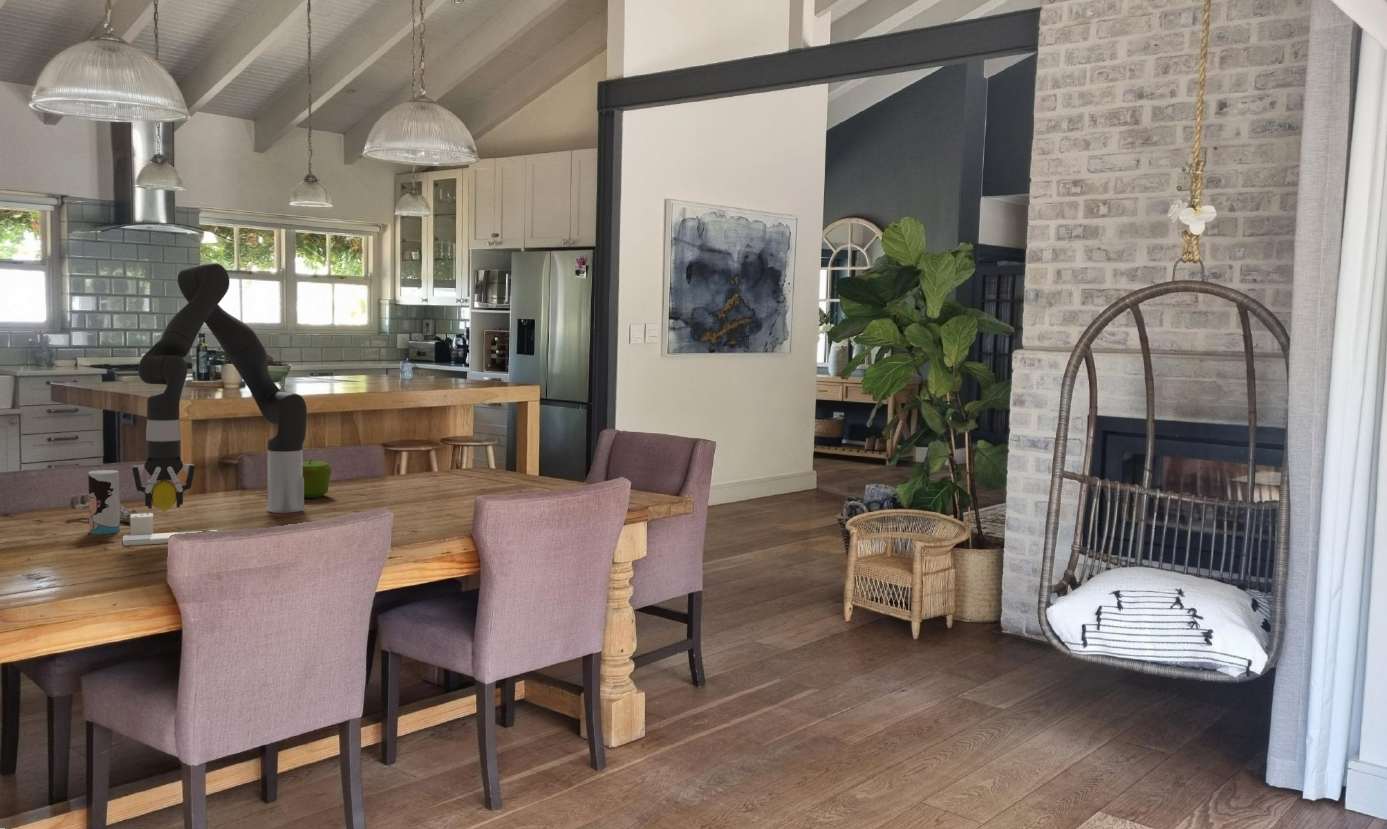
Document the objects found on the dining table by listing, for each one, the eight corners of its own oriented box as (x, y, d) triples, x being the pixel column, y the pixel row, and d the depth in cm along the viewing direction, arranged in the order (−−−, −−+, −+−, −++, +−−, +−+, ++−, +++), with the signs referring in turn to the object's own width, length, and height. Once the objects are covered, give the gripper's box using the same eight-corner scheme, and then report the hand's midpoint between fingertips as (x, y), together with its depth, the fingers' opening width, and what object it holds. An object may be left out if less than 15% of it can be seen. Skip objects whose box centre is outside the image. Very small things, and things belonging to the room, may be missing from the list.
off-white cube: (153, 532, 283) (153, 512, 283) (153, 536, 279) (153, 515, 278) (130, 533, 281) (130, 513, 281) (129, 537, 276) (129, 516, 276)
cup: (106, 527, 287) (105, 469, 285) (125, 530, 284) (125, 471, 283) (83, 532, 280) (81, 472, 279) (103, 535, 278) (102, 474, 277)
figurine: (86, 491, 302) (147, 505, 296) (85, 512, 302) (146, 526, 297) (67, 494, 296) (129, 509, 290) (66, 516, 297) (128, 530, 291)
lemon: (156, 509, 276) (156, 477, 275) (180, 510, 276) (179, 477, 276) (147, 513, 271) (147, 480, 270) (171, 514, 271) (171, 481, 270)
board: (230, 533, 284) (230, 529, 284) (232, 539, 278) (232, 534, 278) (123, 540, 273) (123, 535, 273) (123, 545, 267) (123, 540, 267)
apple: (300, 492, 349) (300, 456, 348) (338, 494, 347) (338, 458, 346) (280, 498, 337) (280, 461, 336) (319, 501, 335) (319, 463, 334)
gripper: (195, 435, 279) (195, 503, 280) (129, 436, 272) (130, 506, 273) (197, 439, 272) (197, 508, 273) (130, 440, 265) (131, 511, 267)
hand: (164, 507), depth 273 cm, fingers closed on lemon, 5 cm apart
